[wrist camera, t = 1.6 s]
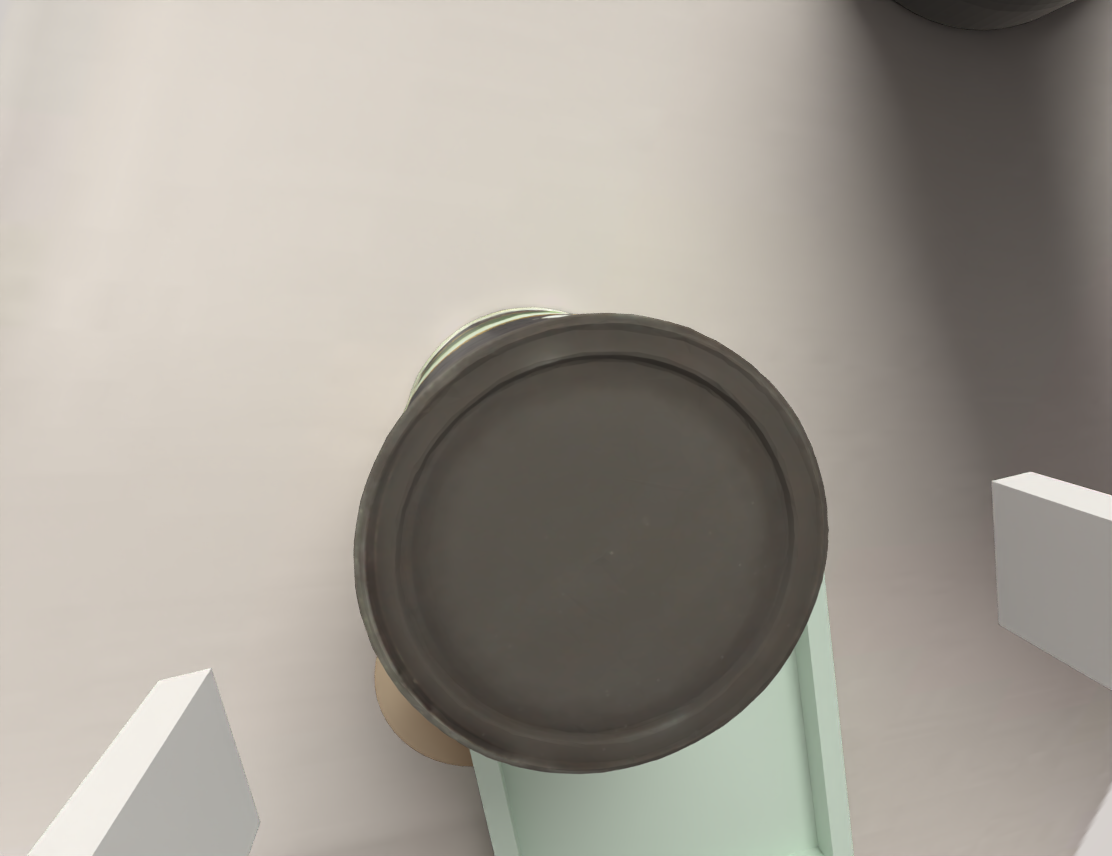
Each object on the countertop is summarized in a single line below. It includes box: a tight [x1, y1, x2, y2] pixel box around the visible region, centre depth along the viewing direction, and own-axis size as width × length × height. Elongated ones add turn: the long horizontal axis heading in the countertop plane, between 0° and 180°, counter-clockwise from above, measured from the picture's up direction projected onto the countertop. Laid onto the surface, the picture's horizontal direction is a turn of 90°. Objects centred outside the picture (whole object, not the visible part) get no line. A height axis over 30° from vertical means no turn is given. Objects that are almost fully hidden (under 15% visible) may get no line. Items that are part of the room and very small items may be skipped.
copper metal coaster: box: [375, 657, 473, 766], centre depth 30 cm, size 9×9×1 cm
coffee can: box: [354, 307, 829, 774], centre depth 21 cm, size 10×10×14 cm
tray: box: [470, 575, 854, 856], centre depth 31 cm, size 16×16×2 cm
